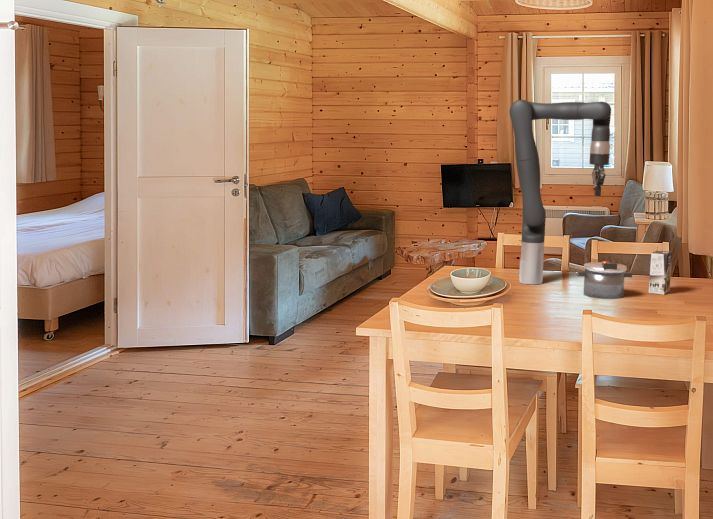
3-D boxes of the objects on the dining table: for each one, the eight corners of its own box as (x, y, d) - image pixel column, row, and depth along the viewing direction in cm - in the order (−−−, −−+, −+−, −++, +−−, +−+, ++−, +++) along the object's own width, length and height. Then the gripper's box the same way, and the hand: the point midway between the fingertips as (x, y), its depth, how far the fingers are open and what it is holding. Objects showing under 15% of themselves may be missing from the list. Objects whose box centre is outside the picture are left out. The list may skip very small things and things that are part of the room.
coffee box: (664, 294, 357) (667, 254, 354) (648, 293, 360) (650, 252, 358) (670, 291, 364) (673, 251, 362) (653, 289, 368) (656, 249, 365)
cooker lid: (588, 272, 345) (589, 263, 345) (579, 265, 361) (580, 256, 360) (631, 273, 345) (632, 264, 344) (620, 266, 361) (620, 257, 360)
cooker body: (580, 298, 348) (582, 272, 346) (571, 289, 365) (572, 265, 363) (635, 299, 347) (636, 273, 346) (623, 290, 364) (624, 266, 363)
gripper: (586, 151, 371) (584, 194, 374) (594, 153, 358) (591, 197, 361) (605, 152, 371) (602, 194, 373) (613, 153, 358) (610, 197, 360)
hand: (597, 195), depth 367 cm, fingers closed
